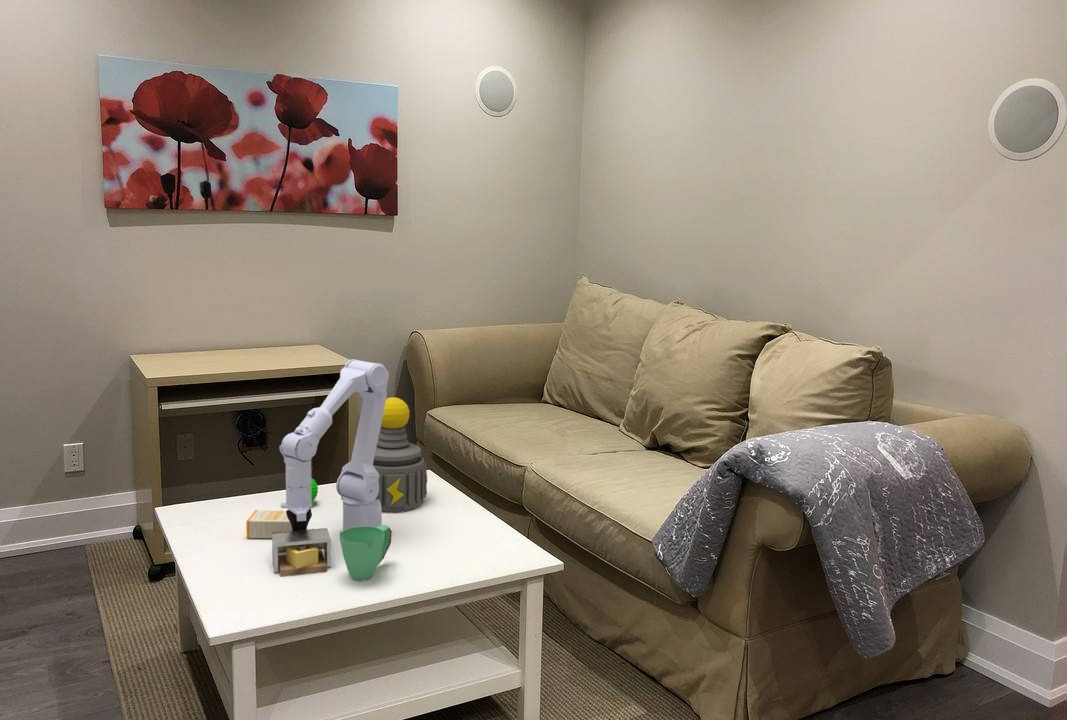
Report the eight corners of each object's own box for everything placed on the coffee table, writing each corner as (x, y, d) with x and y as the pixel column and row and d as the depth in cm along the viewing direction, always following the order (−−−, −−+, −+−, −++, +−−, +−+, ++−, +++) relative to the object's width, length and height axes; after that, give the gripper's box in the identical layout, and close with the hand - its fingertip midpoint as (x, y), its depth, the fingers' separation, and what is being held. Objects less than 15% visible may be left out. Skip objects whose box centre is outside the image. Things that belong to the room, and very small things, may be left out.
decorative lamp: (360, 515, 237) (360, 405, 232) (356, 493, 255) (356, 391, 250) (430, 511, 241) (431, 404, 237) (421, 490, 259) (423, 390, 255)
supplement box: (246, 539, 218) (299, 540, 218) (245, 520, 217) (299, 521, 217) (255, 527, 226) (307, 528, 226) (255, 509, 225) (307, 510, 225)
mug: (366, 589, 191) (366, 545, 190) (330, 579, 196) (330, 536, 194) (405, 566, 204) (406, 524, 202) (371, 557, 208) (371, 517, 207)
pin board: (319, 546, 214) (318, 524, 214) (326, 571, 200) (326, 548, 199) (276, 550, 211) (275, 528, 210) (280, 576, 196) (280, 553, 195)
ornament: (292, 499, 248) (291, 465, 246) (321, 500, 248) (321, 465, 246) (284, 509, 240) (283, 473, 238) (314, 510, 240) (313, 474, 238)
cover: (327, 555, 208) (327, 527, 207) (330, 566, 202) (330, 538, 201) (272, 560, 204) (272, 532, 203) (274, 572, 198) (273, 543, 197)
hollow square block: (307, 556, 204) (307, 541, 204) (318, 563, 200) (318, 548, 200) (286, 561, 201) (286, 546, 200) (296, 568, 197) (296, 553, 197)
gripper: (278, 476, 210) (279, 531, 213) (282, 495, 197) (283, 553, 199) (309, 474, 213) (309, 528, 215) (315, 493, 199) (315, 550, 201)
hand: (299, 540), depth 207 cm, fingers closed
